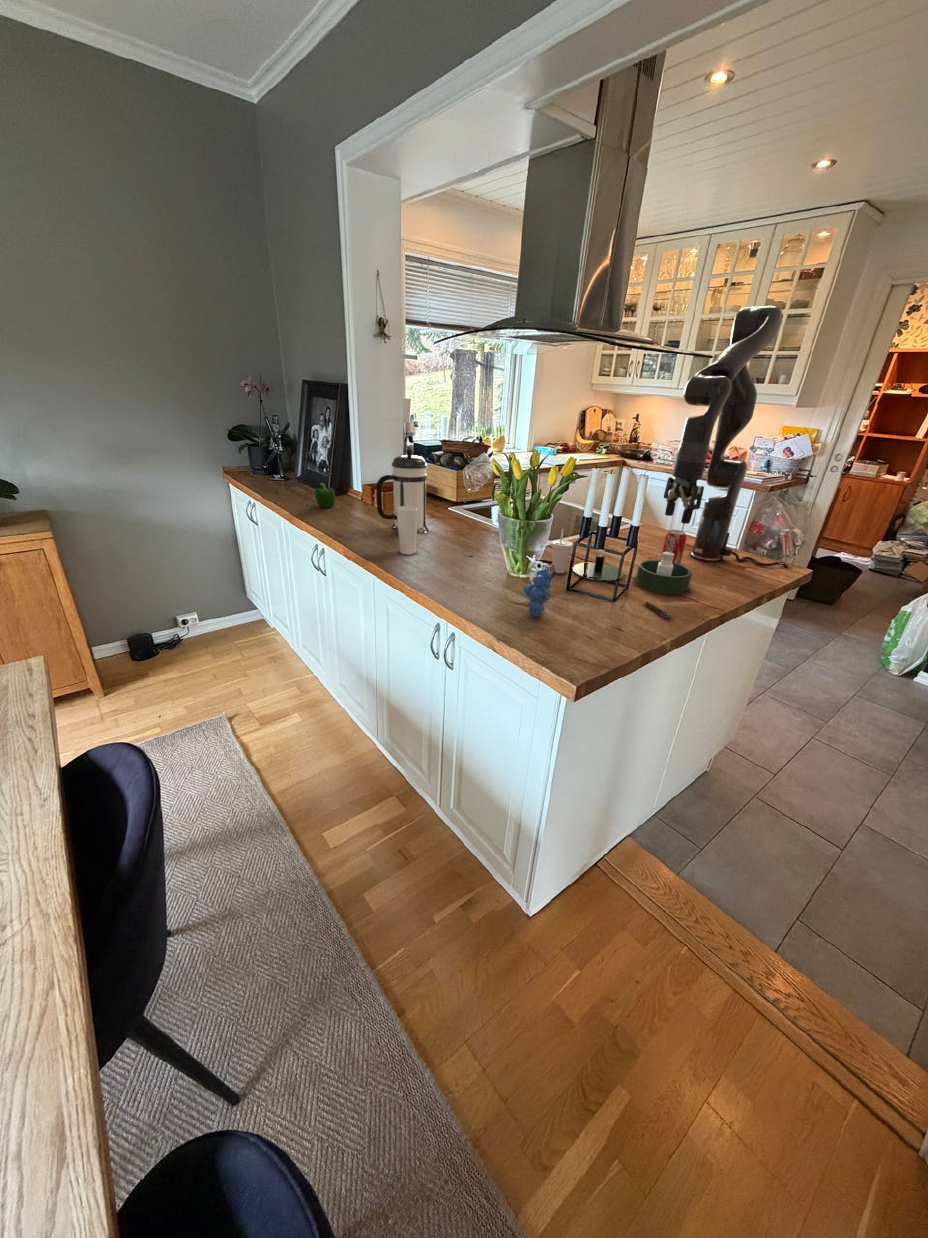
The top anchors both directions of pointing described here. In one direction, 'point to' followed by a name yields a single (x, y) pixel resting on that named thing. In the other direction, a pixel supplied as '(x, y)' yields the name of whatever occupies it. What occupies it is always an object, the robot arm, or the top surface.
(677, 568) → the pot
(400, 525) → the drinking glass
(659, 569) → the salt shaker
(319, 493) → the bell pepper
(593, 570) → the lid
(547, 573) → the grapes
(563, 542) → the smoothie
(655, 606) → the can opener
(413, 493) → the coffee press
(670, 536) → the beverage can
